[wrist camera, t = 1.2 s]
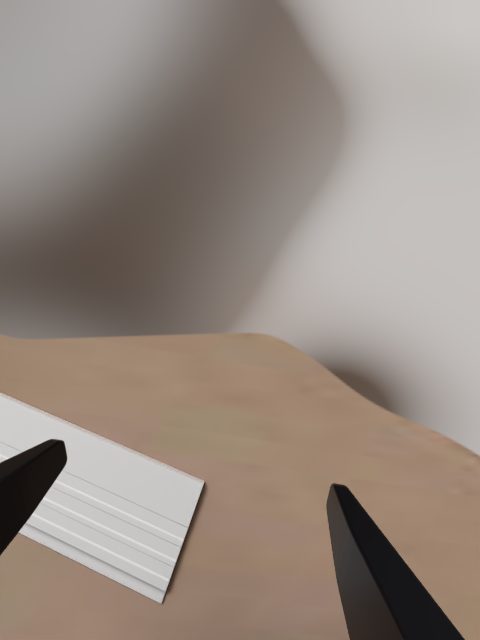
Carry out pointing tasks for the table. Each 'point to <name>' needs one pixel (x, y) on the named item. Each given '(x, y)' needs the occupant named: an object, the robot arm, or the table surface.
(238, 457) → the table surface
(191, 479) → the baseboard molding
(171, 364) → the table surface
